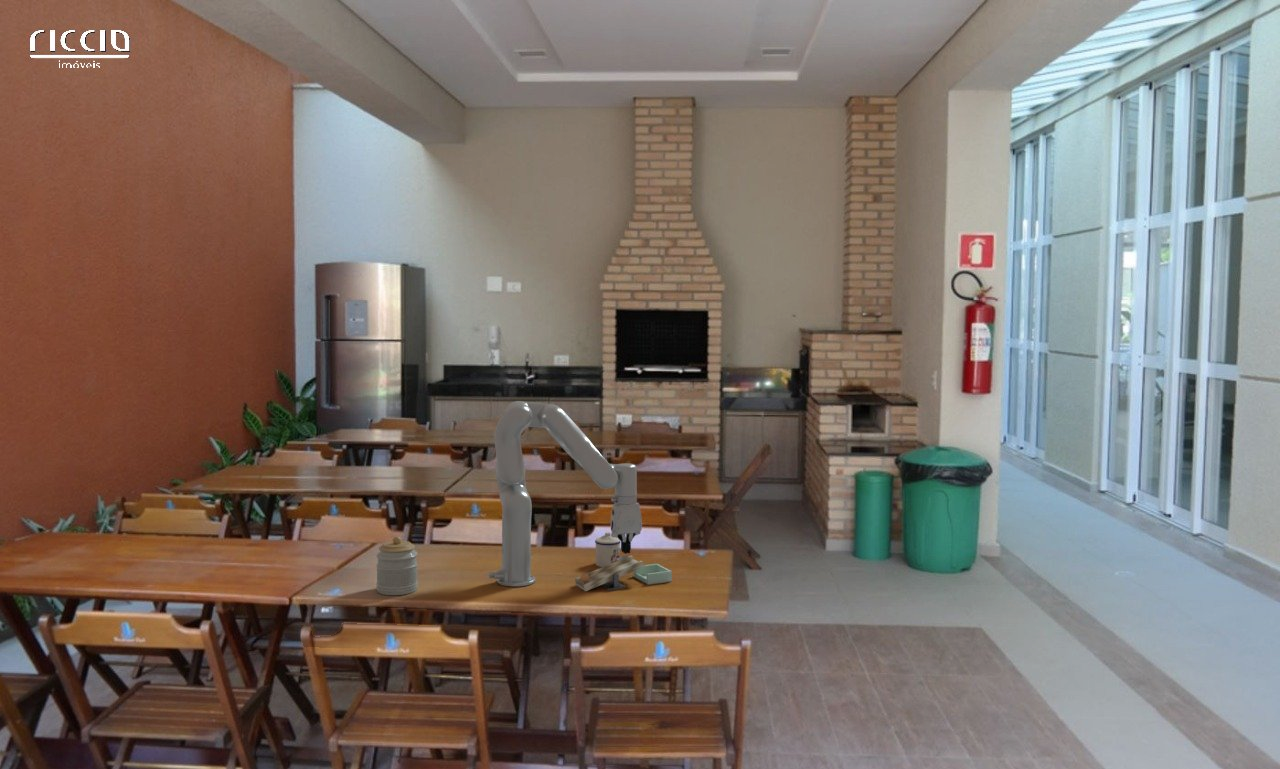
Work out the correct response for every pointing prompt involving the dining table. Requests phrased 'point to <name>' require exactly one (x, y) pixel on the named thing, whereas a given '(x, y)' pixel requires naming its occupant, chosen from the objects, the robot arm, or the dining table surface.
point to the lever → (610, 572)
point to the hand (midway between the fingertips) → (625, 552)
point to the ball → (585, 578)
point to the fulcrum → (614, 584)
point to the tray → (653, 574)
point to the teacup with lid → (607, 550)
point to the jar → (397, 568)
